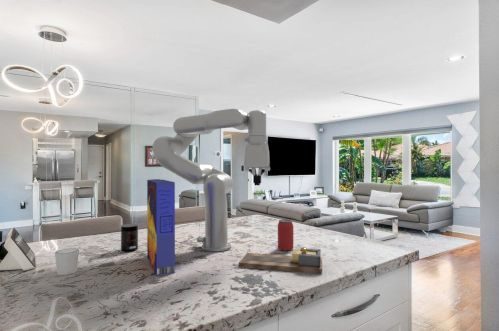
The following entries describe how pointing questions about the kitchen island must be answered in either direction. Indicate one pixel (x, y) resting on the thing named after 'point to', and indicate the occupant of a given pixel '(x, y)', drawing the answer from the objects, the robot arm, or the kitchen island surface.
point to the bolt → (296, 253)
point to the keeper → (310, 258)
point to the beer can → (285, 235)
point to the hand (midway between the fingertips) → (257, 185)
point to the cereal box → (161, 226)
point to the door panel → (276, 263)
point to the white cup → (66, 261)
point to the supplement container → (129, 237)
